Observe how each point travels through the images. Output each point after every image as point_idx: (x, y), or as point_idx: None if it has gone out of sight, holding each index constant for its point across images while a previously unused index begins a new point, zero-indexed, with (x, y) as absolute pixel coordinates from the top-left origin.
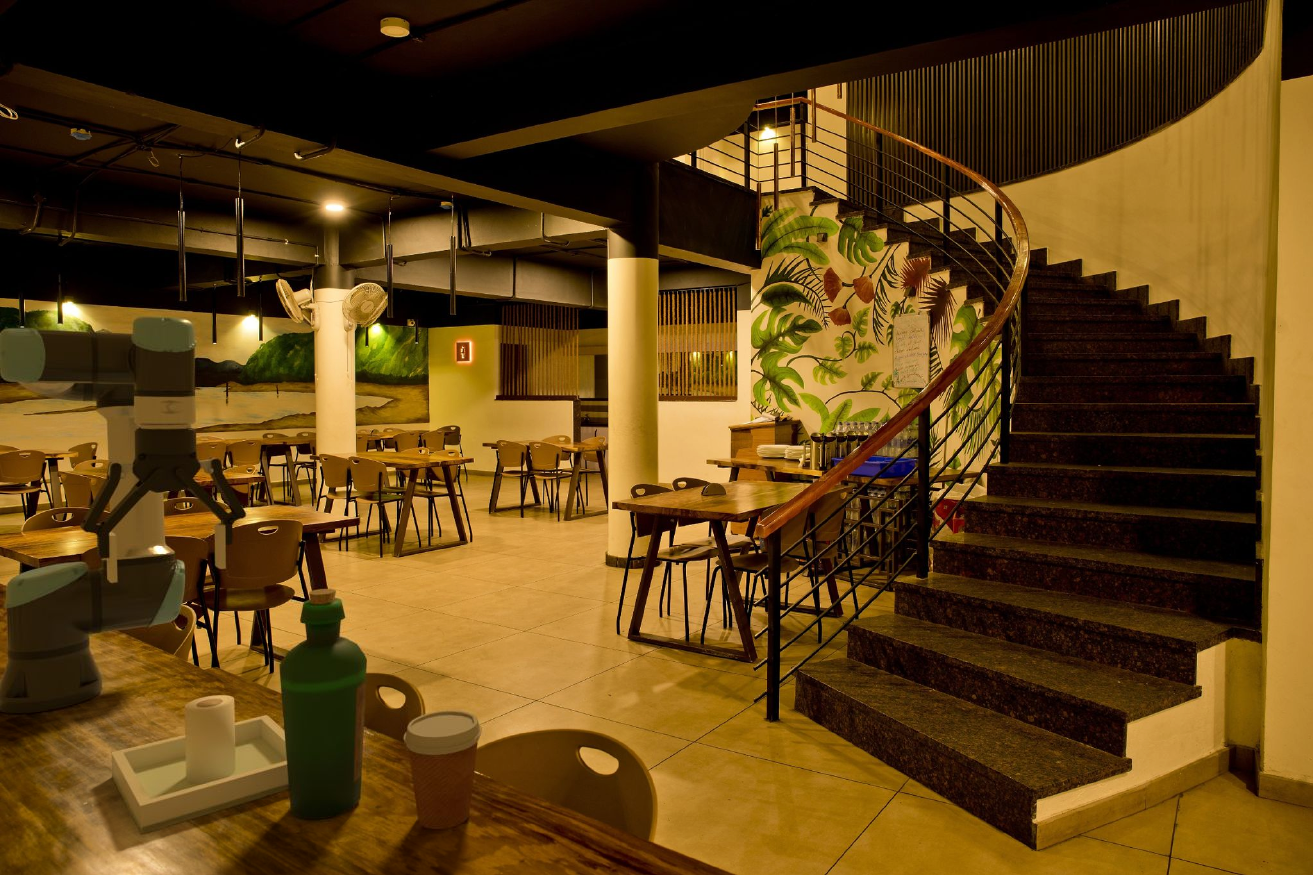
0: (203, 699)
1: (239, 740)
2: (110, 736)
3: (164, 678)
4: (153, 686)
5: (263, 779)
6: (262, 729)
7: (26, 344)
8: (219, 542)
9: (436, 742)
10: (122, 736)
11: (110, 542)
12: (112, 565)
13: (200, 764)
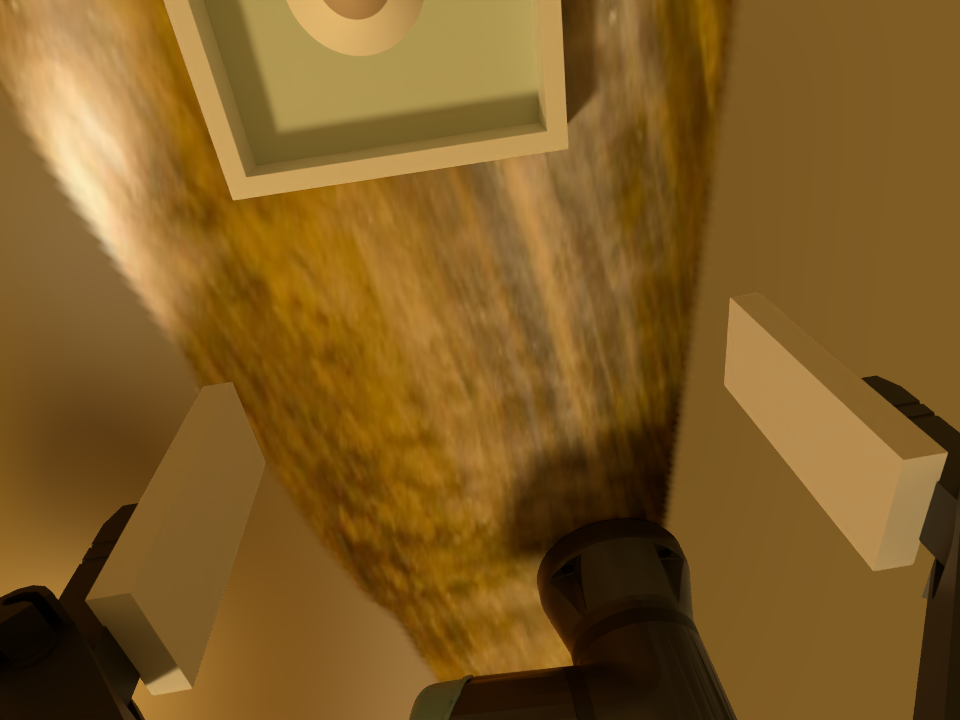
0: (371, 30)
1: (304, 159)
2: (541, 358)
3: (441, 587)
4: (460, 559)
5: None
6: (248, 161)
7: None
8: (185, 493)
9: None
10: (523, 347)
11: (907, 418)
12: (799, 339)
13: None
